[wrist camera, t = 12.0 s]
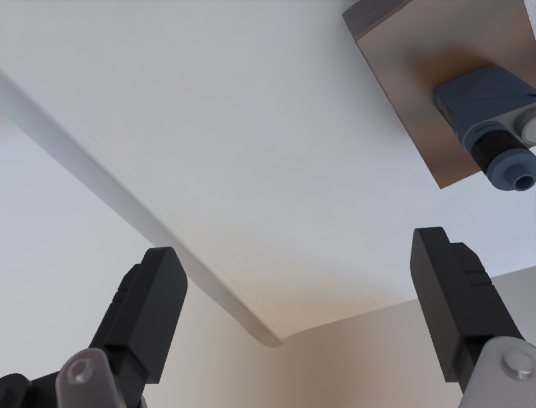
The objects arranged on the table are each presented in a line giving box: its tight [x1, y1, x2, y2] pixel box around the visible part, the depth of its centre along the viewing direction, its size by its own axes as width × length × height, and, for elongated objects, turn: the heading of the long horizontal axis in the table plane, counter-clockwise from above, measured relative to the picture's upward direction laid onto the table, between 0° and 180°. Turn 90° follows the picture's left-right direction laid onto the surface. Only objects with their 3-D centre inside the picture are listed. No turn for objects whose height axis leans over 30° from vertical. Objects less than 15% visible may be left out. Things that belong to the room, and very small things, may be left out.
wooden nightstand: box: [342, 0, 536, 189], centre depth 31 cm, size 16×10×11 cm, turn 38°
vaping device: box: [434, 66, 536, 191], centre depth 22 cm, size 3×5×12 cm, turn 117°
